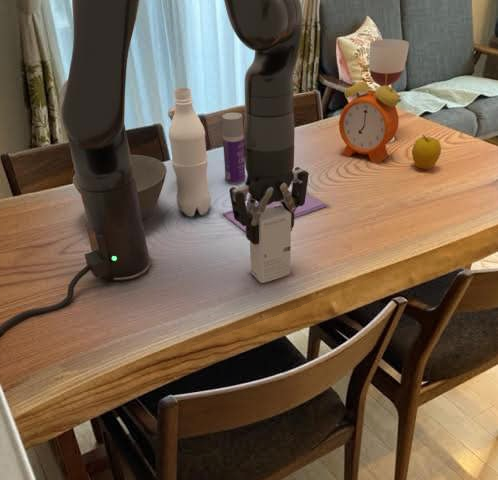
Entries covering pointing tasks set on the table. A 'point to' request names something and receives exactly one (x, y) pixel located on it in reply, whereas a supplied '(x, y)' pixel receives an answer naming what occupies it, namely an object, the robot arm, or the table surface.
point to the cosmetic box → (272, 245)
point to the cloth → (308, 207)
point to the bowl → (145, 181)
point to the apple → (426, 152)
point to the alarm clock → (369, 120)
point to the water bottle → (189, 155)
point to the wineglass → (387, 60)
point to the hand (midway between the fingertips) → (270, 236)
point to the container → (233, 148)
